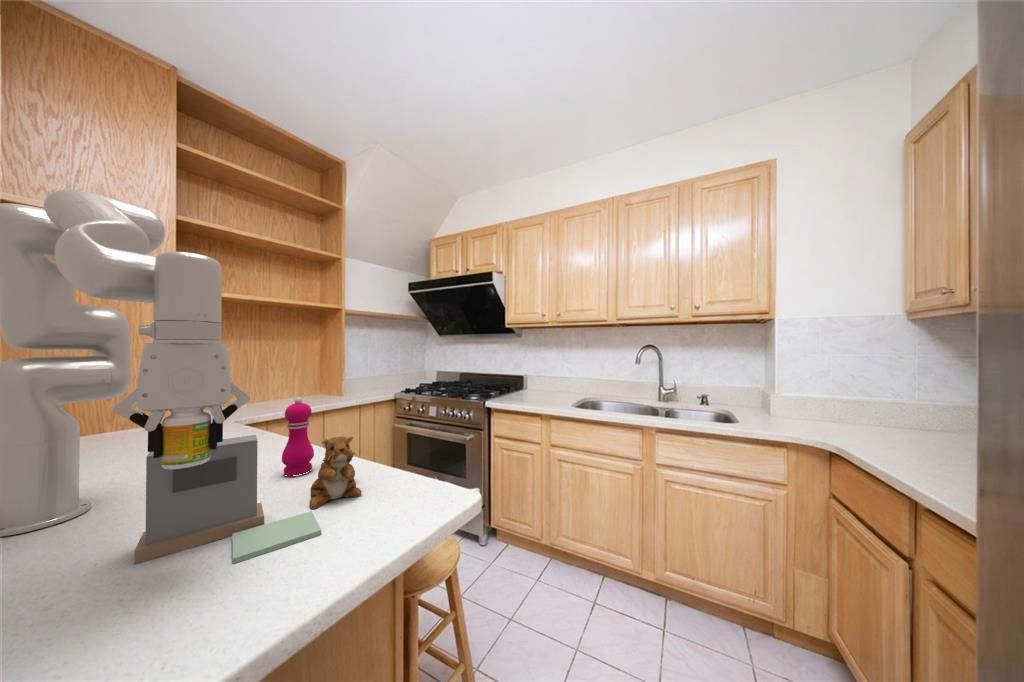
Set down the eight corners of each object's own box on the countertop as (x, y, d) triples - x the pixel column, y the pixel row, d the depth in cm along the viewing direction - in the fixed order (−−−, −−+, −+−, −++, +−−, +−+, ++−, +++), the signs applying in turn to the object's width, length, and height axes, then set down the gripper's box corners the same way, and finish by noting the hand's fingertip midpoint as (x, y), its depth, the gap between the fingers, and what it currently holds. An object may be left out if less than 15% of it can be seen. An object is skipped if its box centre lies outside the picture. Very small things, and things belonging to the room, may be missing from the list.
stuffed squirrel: (309, 511, 67) (310, 446, 67) (308, 487, 79) (308, 431, 79) (363, 499, 72) (363, 438, 72) (354, 477, 84) (354, 426, 84)
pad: (232, 563, 51) (232, 558, 51) (232, 538, 58) (232, 533, 58) (321, 534, 59) (321, 530, 59) (311, 515, 65) (311, 511, 65)
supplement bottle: (196, 468, 49) (197, 402, 49) (151, 472, 48) (152, 404, 48) (218, 456, 54) (218, 397, 54) (177, 459, 53) (178, 398, 53)
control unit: (134, 564, 51) (135, 459, 51) (143, 543, 56) (144, 449, 56) (264, 526, 61) (264, 440, 61) (261, 512, 67) (261, 432, 67)
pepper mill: (291, 468, 91) (291, 395, 91) (318, 467, 92) (319, 394, 92) (275, 478, 84) (275, 399, 84) (305, 477, 84) (305, 399, 85)
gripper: (93, 332, 43) (91, 472, 43) (259, 334, 54) (258, 446, 53) (110, 333, 49) (108, 457, 48) (257, 335, 60) (256, 436, 59)
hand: (187, 450), depth 51 cm, fingers closed on supplement bottle, 5 cm apart
